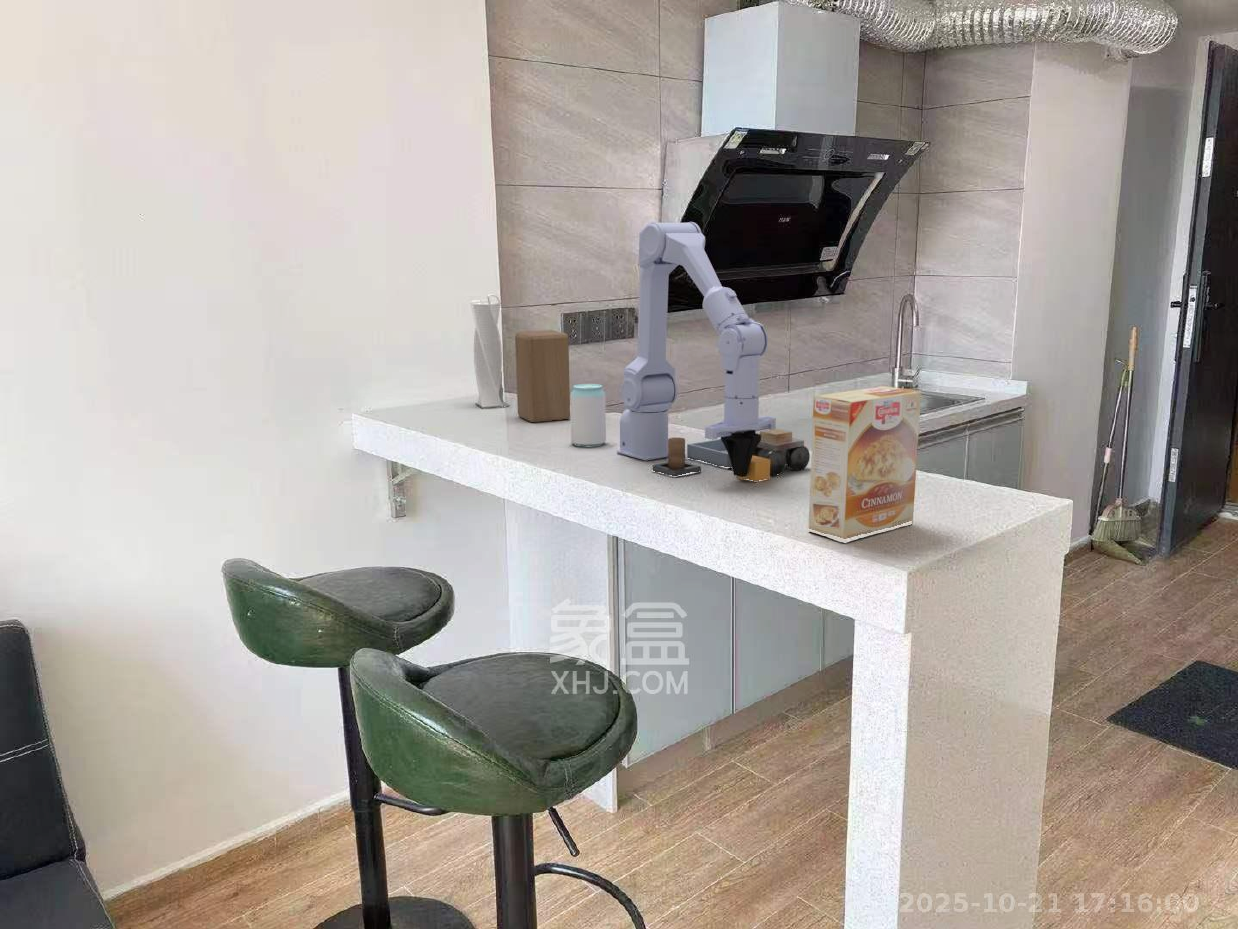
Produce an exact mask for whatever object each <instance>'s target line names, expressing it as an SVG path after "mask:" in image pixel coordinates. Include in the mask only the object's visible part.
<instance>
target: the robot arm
mask: <svg viewBox="0 0 1238 929" xmlns="http://www.w3.org/2000/svg"><path fill="white" fill-rule="evenodd" d="M638 238H639V239H638V240H639V241H638V267H639V282H638V283H639V284H638V285H639V286H638V315H637V316H638V317H637V319H638V320H637V323H638V324H637V347H636V348H637V355H636V358H635V359H633V361H632V362H630V363H629V364H628V365H627V366H626V367H625V368H624V369H623V379H622V382H621V385H620V398H621V401H622V402H623V404H624V406H625V407H626V409H625V410H624V411H623V412H622V414H621V416H620V420H619V446H620V447H619V449H617V450H616V453H617V454H620V455H624V456H628V457H631V458H635V459H639V460H641V461H642V460H643V461H651V460H657V459H662V458H668V439H669V410H670V409H672V405H673V404H674V402H676V400H677V396H678V391H679V387H678V382H677V378H676V367H675V366H674V365H672V363H670V362H669V361H668V360H667V359H666V356H667V354H666V353H667V331H668V330H667V329H668V327H667V326H668V302H669V280H670V279H669V277H670V276H669V275H670V274H671V273H672V272H673V271H674V270H675V269H676V268H677V267H678V266H679V265H680V266H682V267H683V269H684V270H685V271H686V272H687V275H688V276H689V277H690V279H691V280H692V281H693V283H694V284H695V286H696V287H697V288H698V290H699V292H700V293H701V295H702V296H703V301H702V309H703V310H704V313H705V314H706V316H707V318H708V319H709V321H710V323H711V324H712V326H713V328H714V329H715V331H716V333H717V335H718V336H719V338H718V340H717V341H716V345H717V349H718V352H719V354H720V357H721V366H722V369H723V370H724V398H723V399H724V401H723V402H724V403H723V405H724V408H723V409H724V411H723V412H724V414H723V416H724V417H723V418H724V419H723V421H721V422H720V421H719V422H717V423H714V424H712V425H711V424H710V425H707V426H704V438H705V439H709V440H716V439H721V441H722V442H723V444H724V446H725V448H726V450H727V452H728V455H729V458H730V461H731V465H732V468H731V470H732V474H733V475H734V476H736V477H737V476H739V477H744V476H747V473H748V469H749V465H750V462H751V459H752V456H753V454H754V451H755V449H756V447H757V446H758V444H759V443H760V441H761V435H760V433H756V432H760V431H764V430H773V429H777V428H776V426H777V425H776V423H777V422H776V420H777V418H776V417H771V416H763V417H759V412H760V411H759V408H760V406H759V404H760V402H759V401H760V399H759V397H760V367H761V366H760V365H761V364H760V363H761V360H760V359H761V358H760V357H762V356H763V355H764V354H765V353H766V351H767V348H768V341H769V340H768V339H769V338H768V334H767V332H766V329H765V326H764V325H763V324H762V323H761V322H757V321H755V320H754V319H753V318H751V317H750V318H749V316H748V314H747V312H746V311H745V309H744V307H743V306H742V304H741V302H740V300H739V299H738V297H737V296H738V295H737V294H736V291H735V290H732V288H730V287H725V286H722V283H721V282H720V280H719V278H718V275H717V273H716V271H715V269H714V267H713V265H712V263H711V261H710V259H709V257H708V254H707V253H706V251H705V246H706V236H705V235H704V234H703V233H702V229H701V228H700V226H699V225H698V224H697V223H696V222H693V221H688V222H657V221H650V222H648V223H647V224H646V225H645V226H644V228H643V229H642V230H641V231H640V232H639V235H638Z"/></svg>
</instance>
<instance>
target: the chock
mask: <svg viewBox="0 0 1238 929" xmlns="http://www.w3.org/2000/svg"><path fill="white" fill-rule="evenodd" d="M737 477H739V476H736V478H737ZM739 478H742V479H741V480H743V479H749V480H753V481H759V480H764V479H769V480H770V479H771V474H770V459H766V458H762V457H757V456H752V459H751V462H750V465H749V469H748V473H747V476H744V477H739ZM739 478H738V479H739Z"/></svg>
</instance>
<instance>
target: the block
mask: <svg viewBox="0 0 1238 929" xmlns="http://www.w3.org/2000/svg"><path fill="white" fill-rule="evenodd" d="M514 340H515V341H514V342H515V343H514V344H515V346H514V347H515V370H516V371H515V372H516V374H515V375H516V397H517V398H516V402H517V405H516V406H517V414H518V417H519V418H521V419H523V420H526V421H527V422H531V423H533V422H536V423H541V422H540V421H547V422H553V421H552V420H558V421H564V420H563V419H567V420H568V419H571V405H570V394H571V390H570V350H569V349H570V347H569V346H570V345H569V342H570V341H569V335H568V333H566V332H562V331H558V330H551V329H550V330H548V329H547V330H530V331H525V330H524V331H518V332H516V333H515V337H514Z"/></svg>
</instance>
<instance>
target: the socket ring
mask: <svg viewBox="0 0 1238 929" xmlns="http://www.w3.org/2000/svg"><path fill="white" fill-rule="evenodd" d="M651 469H652V470H653V471H655V472H661V473H664V474H667V475H672V476H678V475H682V474H686V473H690V472H699V471H701V472H702V466H701V465H698V464H695V463H690V462H687V461H685V468H681V469H676V470H674V469H671V468H668V461H667V462H662V463H661V462H660V463H655V464H652V468H651ZM655 472H654V473H655Z"/></svg>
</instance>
